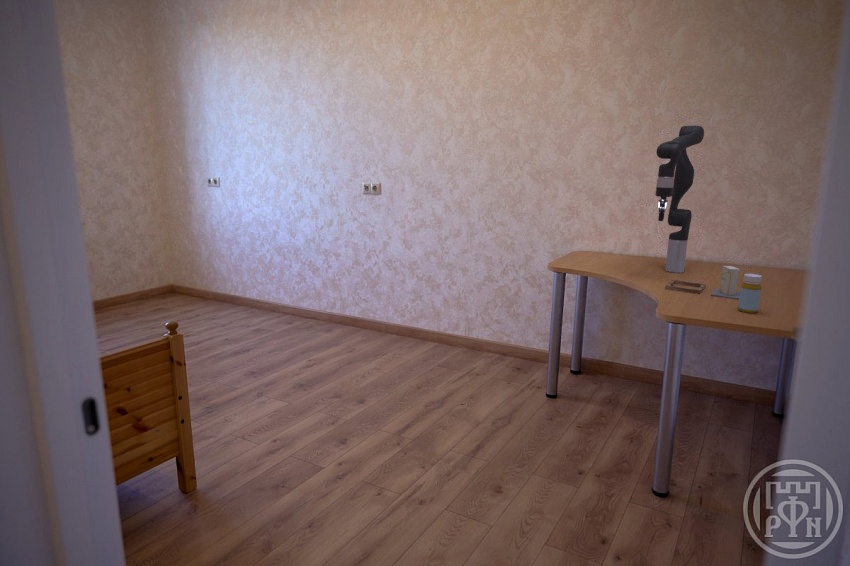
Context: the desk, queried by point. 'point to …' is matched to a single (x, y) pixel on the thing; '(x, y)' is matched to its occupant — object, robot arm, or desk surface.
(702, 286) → the frame
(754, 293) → the bottle
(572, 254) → the desk surface
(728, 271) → the skincare box
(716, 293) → the charcoal mat
